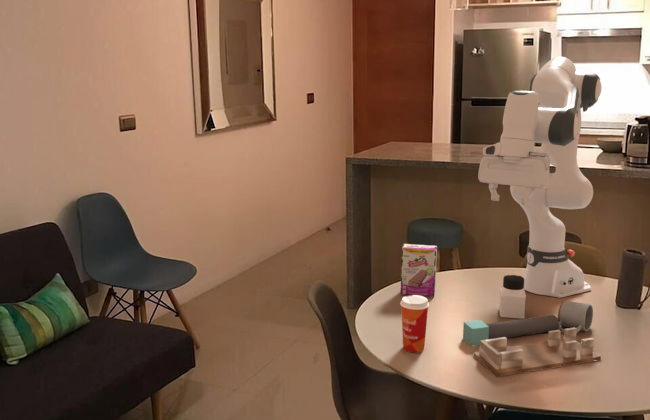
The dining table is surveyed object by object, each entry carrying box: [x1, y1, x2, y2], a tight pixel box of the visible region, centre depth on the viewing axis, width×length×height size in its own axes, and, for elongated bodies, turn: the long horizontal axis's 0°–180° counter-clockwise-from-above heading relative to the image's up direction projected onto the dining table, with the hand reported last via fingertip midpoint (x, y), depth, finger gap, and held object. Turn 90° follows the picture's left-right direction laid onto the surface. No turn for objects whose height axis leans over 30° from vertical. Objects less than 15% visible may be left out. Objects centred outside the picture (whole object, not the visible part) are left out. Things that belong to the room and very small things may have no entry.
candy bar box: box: [400, 243, 438, 298], centre depth 219 cm, size 11×5×16 cm, turn 78°
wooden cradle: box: [473, 327, 602, 377], centre depth 174 cm, size 30×12×5 cm, turn 107°
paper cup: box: [399, 295, 430, 354], centre depth 179 cm, size 8×8×14 cm
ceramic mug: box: [557, 300, 594, 334], centre depth 192 cm, size 11×8×8 cm
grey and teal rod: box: [462, 314, 559, 347], centre depth 188 cm, size 28×5×5 cm, turn 107°
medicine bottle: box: [498, 273, 527, 320], centre depth 202 cm, size 7×7×12 cm
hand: (509, 202), depth 179 cm, fingers open, 8 cm apart
